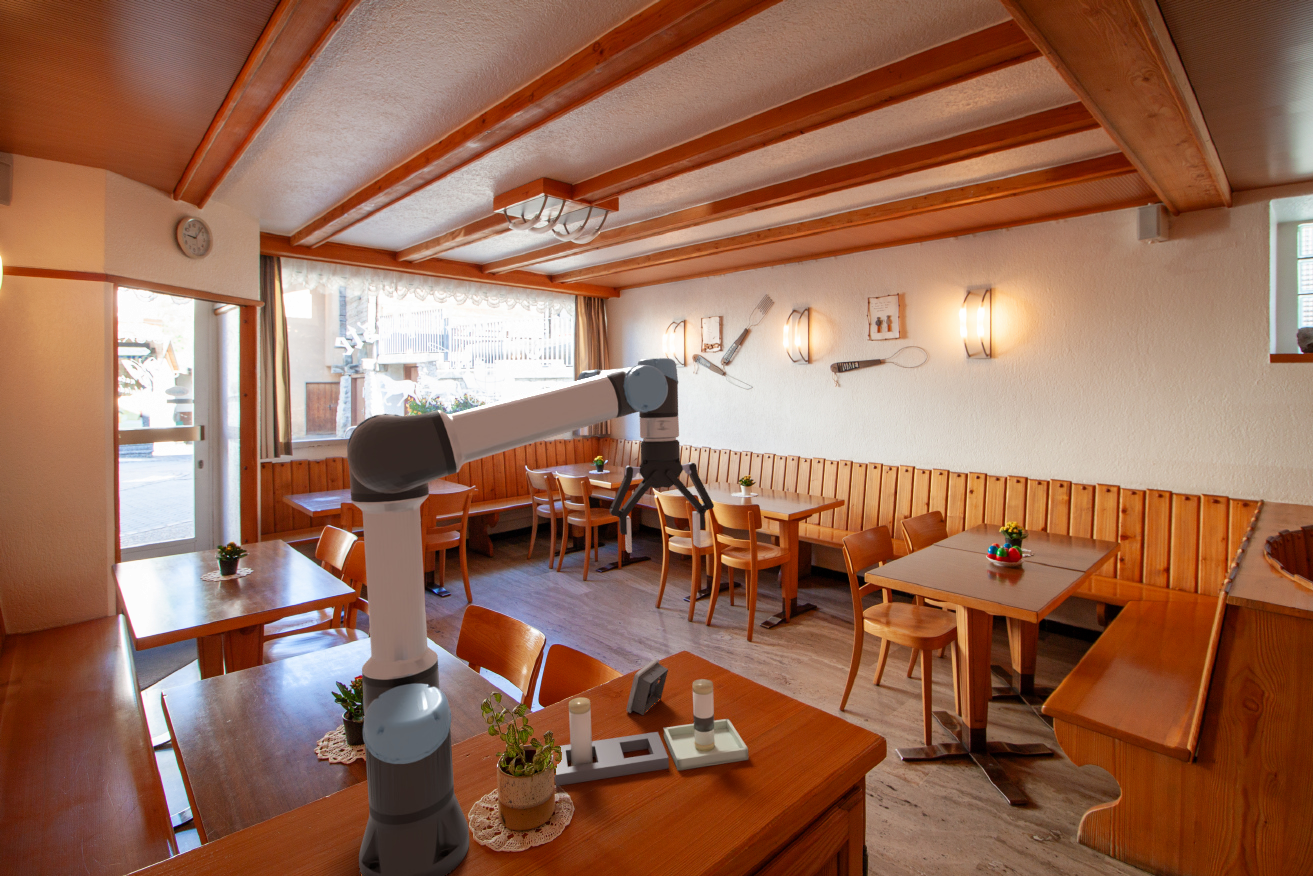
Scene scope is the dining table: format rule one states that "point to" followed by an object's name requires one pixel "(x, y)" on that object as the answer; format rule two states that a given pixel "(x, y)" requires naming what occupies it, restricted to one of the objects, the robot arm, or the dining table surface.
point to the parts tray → (688, 756)
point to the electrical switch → (647, 687)
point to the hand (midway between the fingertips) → (663, 548)
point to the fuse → (580, 731)
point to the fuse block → (614, 759)
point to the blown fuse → (703, 715)
